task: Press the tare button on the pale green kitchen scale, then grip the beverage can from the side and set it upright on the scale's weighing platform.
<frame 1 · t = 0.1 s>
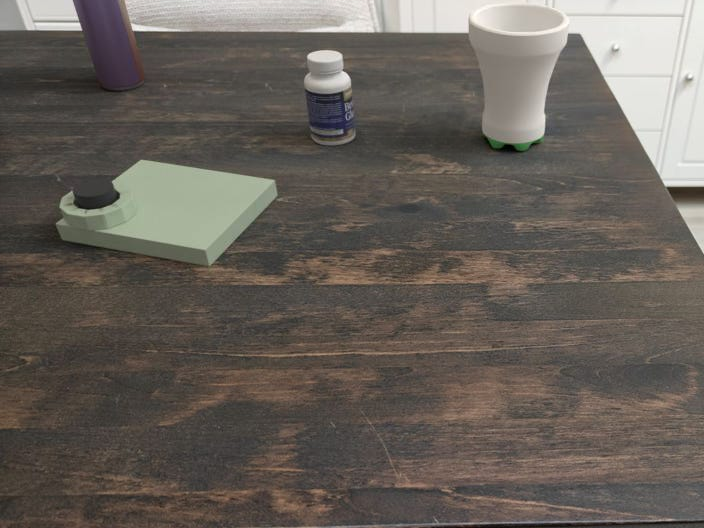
beverage can: (124, 85, 102), on the table
tare button: (95, 194, 71), point 4 cm above the table, slide at 0.1 cm
scale: (175, 217, 76), on the table
cup: (512, 140, 91), on the table
pill bottle: (334, 138, 91), on the table
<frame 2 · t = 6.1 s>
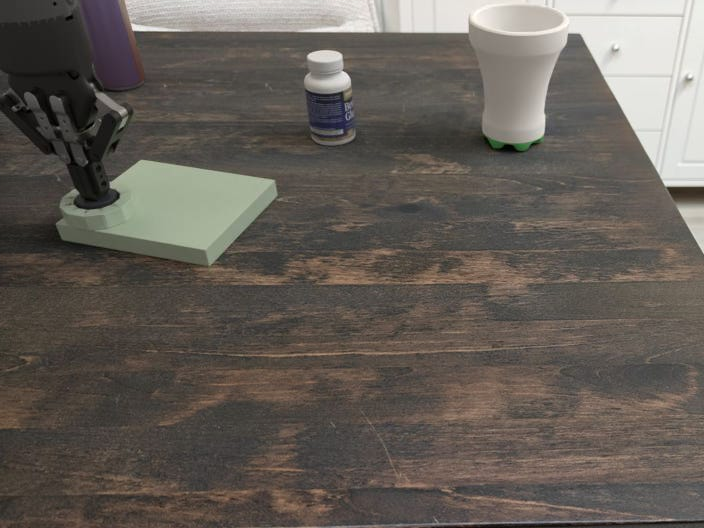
hand: (96, 195, 71), 4 cm above the table, tool pointing down, fingers closed
tare button: (98, 202, 72), point 3 cm above the table, slide at -0.8 cm, touching gripper
everything else where it was.
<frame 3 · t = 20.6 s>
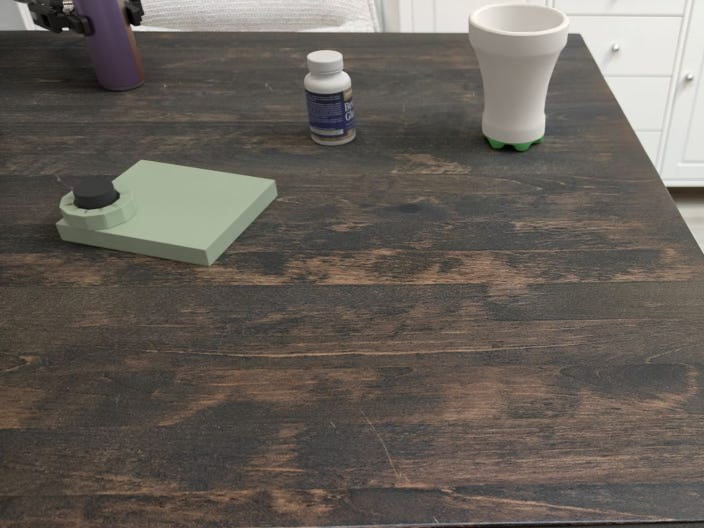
hand: (112, 22, 95), 9 cm above the table, tool horizontal, fingers closed on beverage can, 5 cm apart
beverage can: (124, 84, 102), on the table, touching gripper
tare button: (95, 194, 71), point 4 cm above the table, slide at 0.1 cm
everything else where it was.
when the fingers open (10 cm above the table, at t = 30.2 s): beverage can stays where it is, resting on scale.
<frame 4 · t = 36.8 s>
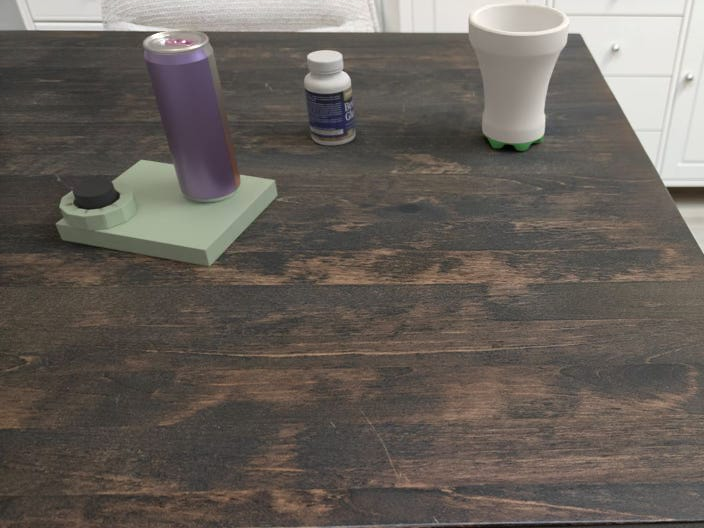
beverage can: (212, 192, 77), point 2 cm above the table, touching scale
everything else where it was.
at the end: tare button pushed in 0.9 cm at the most during the clip, back to where it started at the end; beverage can inside the target area on the scale (2.7 cm from its centre), point 1.7 cm above the scale's base; beverage can touching scale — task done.
